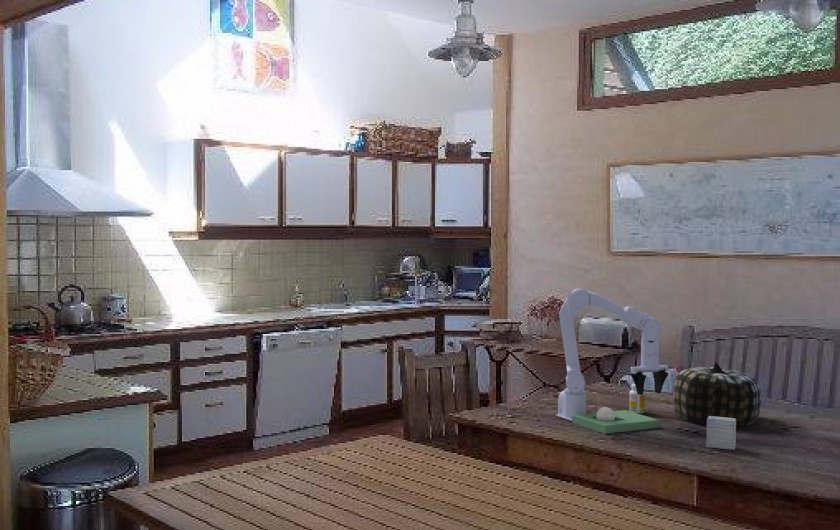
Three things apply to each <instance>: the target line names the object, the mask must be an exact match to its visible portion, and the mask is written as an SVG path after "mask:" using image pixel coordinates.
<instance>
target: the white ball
mask: <svg viewBox="0 0 840 530" xmlns="http://www.w3.org/2000/svg"><path fill="white" fill-rule="evenodd" d="M613 411H614V410H613V409H612V408H610V407H607V406H603V407H600V408H598V409H597V411H596V412H595V413H596V419H598V420H602V421H605V422H610V421H614V419H615V414H614V412H613Z"/></svg>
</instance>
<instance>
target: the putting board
mask: <svg viewBox="0 0 840 530" xmlns="http://www.w3.org/2000/svg"><path fill="white" fill-rule="evenodd" d="M612 411H613V412H614V414H615V419H614V421H610V422H605V421H602V420H598V419H596V413H597V412H594V413H593V412H592V413H585V414H581V415H572V421H571V423H572V424H574V425H577V426H579V427H580V426H581V427H583V428H587V429H589V430H592V431H595V432H599V433H602V434H605V435H607V434H616V433H615V432H617V433H625V432H631V431H632V432H633V431H640V430H641V431H642V430H649V429H650V430H651V429H657V428H660V419H658V418H653V417H650V416H646V415H643V414H641V413H633V412H630V411H629V410H626V409H622V410H612Z"/></svg>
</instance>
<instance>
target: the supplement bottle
mask: <svg viewBox="0 0 840 530" xmlns="http://www.w3.org/2000/svg"><path fill="white" fill-rule="evenodd" d="M630 387H631V390H629V399H628V400H629V402H628V405H629V406H628V411H630V412H633V413H637V414H643V413H645V411H646V410H645V409H646V392H645V391H644V392H643V395H639V394H637V390H636V386H635V383H632V384H631V386H630Z"/></svg>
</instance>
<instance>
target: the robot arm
mask: <svg viewBox="0 0 840 530" xmlns="http://www.w3.org/2000/svg"><path fill="white" fill-rule="evenodd" d="M587 306H589V307H599V308H601V309H604V310H606V311H609V312H610V313H612V314H615V315H616V316H618V317H619V319H620V321H621V322H622V323H624V324H626V325H628V326H630V327H632V328H634V329H636V330H641V331H642V333H641V339H640V341H641V344H640V348H641V349H640V365H637V366H631V367H630V377H631V378H632V381H633V384H635V386H636V390H637V394H639V395H643V392H645V391H644V390H645V389H644V388H645V381H646V377H647V375H646V374H644V373H652V377H653V382H654V393H655V394H661V393H662V389H663V386H664V383H665V381H666V379H667V378H668V376H669V365H667V364H659V362H660V359H659V358H660V357H659V355H660V339H659V338H660V334H659V333H660V332H661V329H662V327H661V325H660V323H659V321H658V320H657V319H656V318H655V317H653V316H650V314H649V313H644V312H642V311H639V310H638V309H637V307H636V306H634V305H633V306H630V305H627V306H625V307H623V306H621V305H619V304H617V303H615V302H614V301H612V300H610V299H609V298H605V296H602V295H600V294H598V293H595V292H593V291H590V290H585V289H584V288H581V287H577V288H575V289H573V290H572V291H570V293H569V294H567V296H566V298H565V300H564V302H563V304H562V306H561V308H560V310H559V312H558V313H559V314H558V316H559V323H560V330H561V335H562V336H561V339H562V343H563V345H562V346H563V352H564V357H565V358H564V359H565V366H566V372H567V373H566V376H565V385H566V388H564V390H562V391H560V393H559V395H558V402H557V403H558V405H557V413H556V414H555V416H556V417H558V418H562V419H565V420H568V421H570V422H572V415H581V414H586V407H587V406H586V402H587V391H586V390H585V387H586V380H585V376H584V375H583V373H582V372H581V371H582V370H581V365H580V357H579V351H578V345H577V344H578V343H577V338H576V331H575V323H574V317H575V316H576V315H577V314H578V313H579V312H580V311H581V310H583V309H585V308H586V307H587Z"/></svg>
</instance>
